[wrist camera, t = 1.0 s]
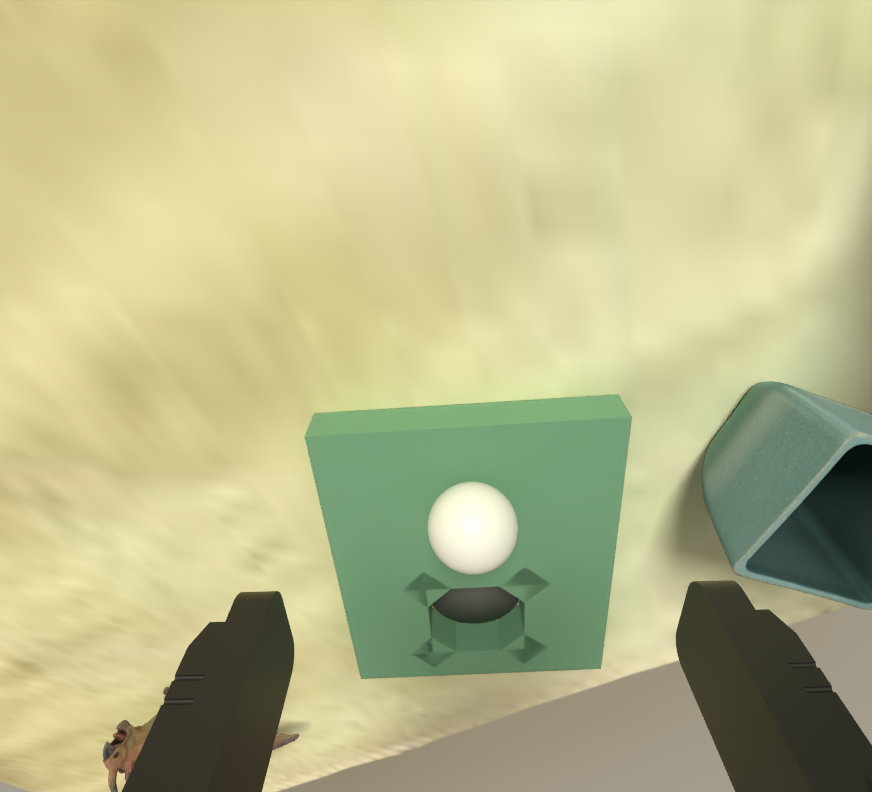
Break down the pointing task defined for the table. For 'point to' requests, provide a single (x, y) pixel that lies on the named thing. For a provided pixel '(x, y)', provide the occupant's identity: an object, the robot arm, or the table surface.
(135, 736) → the dinosaur figurine
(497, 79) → the table surface
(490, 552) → the ball
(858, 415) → the flower pot
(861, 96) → the table surface
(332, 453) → the putting mat
